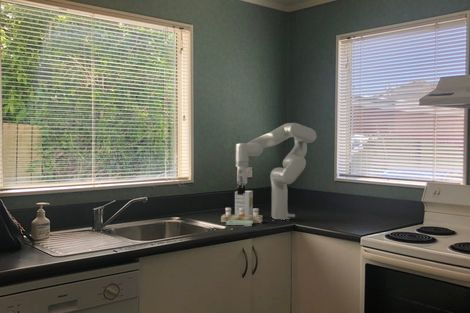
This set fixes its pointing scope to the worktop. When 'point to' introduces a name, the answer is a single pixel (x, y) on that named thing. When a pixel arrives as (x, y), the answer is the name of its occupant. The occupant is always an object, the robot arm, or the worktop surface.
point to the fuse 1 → (228, 211)
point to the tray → (239, 222)
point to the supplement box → (244, 202)
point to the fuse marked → (241, 212)
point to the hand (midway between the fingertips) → (241, 194)
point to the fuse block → (242, 218)
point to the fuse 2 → (255, 212)
